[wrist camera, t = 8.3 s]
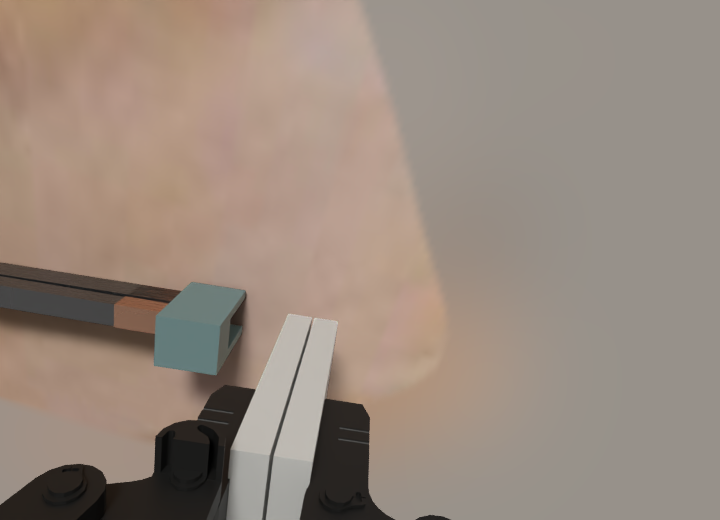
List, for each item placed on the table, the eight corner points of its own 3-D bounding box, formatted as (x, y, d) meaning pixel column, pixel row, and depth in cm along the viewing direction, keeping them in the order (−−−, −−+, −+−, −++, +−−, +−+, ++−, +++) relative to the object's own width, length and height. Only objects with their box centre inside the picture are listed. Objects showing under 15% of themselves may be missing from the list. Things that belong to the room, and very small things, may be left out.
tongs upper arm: (-63, 289, 18) (-82, 297, 17) (-66, 260, 18) (-85, 267, 17) (169, 328, 18) (160, 338, 17) (170, 300, 17) (161, 308, 17)
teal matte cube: (189, 325, 19) (153, 365, 16) (191, 281, 18) (155, 315, 15) (241, 333, 19) (216, 375, 16) (245, 290, 18) (220, 326, 16)
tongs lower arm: (-44, 275, 19) (-66, 284, 18) (-45, 255, 19) (-68, 263, 18) (182, 311, 19) (172, 322, 18) (183, 291, 19) (173, 301, 18)
